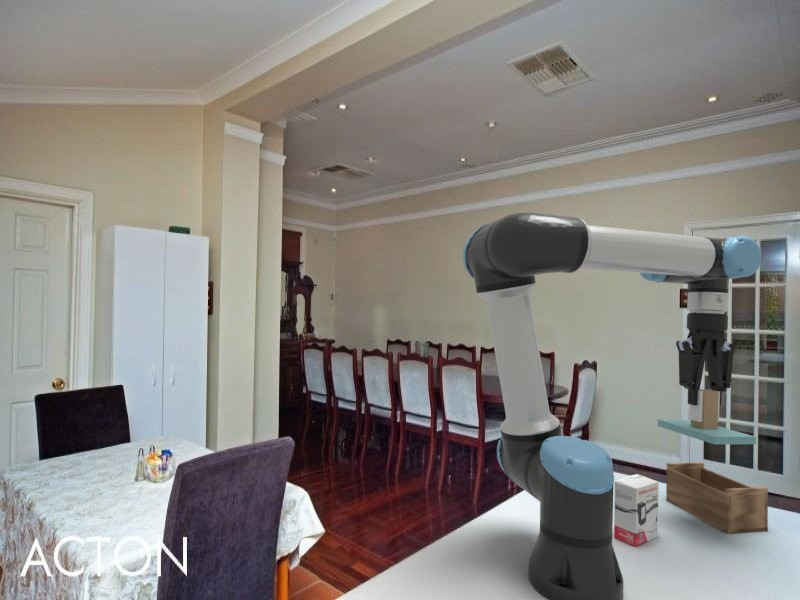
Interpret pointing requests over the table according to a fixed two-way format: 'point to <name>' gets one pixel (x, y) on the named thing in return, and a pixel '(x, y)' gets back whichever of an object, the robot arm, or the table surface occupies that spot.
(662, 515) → the table surface
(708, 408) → the lid
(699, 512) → the box
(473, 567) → the table surface
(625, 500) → the ink box
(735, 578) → the table surface
